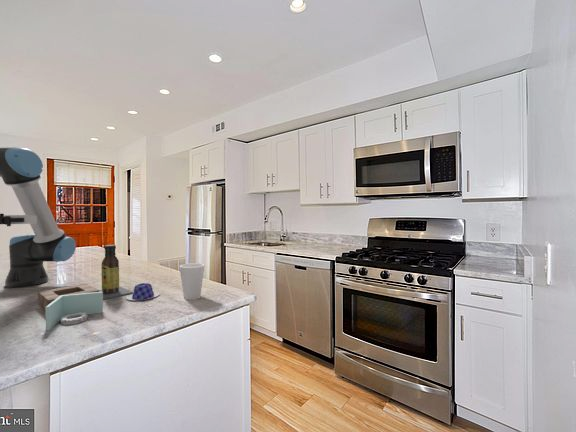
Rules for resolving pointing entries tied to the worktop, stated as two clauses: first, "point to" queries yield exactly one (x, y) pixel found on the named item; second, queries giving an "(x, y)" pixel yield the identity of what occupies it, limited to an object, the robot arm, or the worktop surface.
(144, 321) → the worktop surface
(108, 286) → the sauce bottle
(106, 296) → the grey mat
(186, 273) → the foam cup
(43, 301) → the walnut collar
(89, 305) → the mint folded panel
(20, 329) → the worktop surface
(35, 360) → the worktop surface
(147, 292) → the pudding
